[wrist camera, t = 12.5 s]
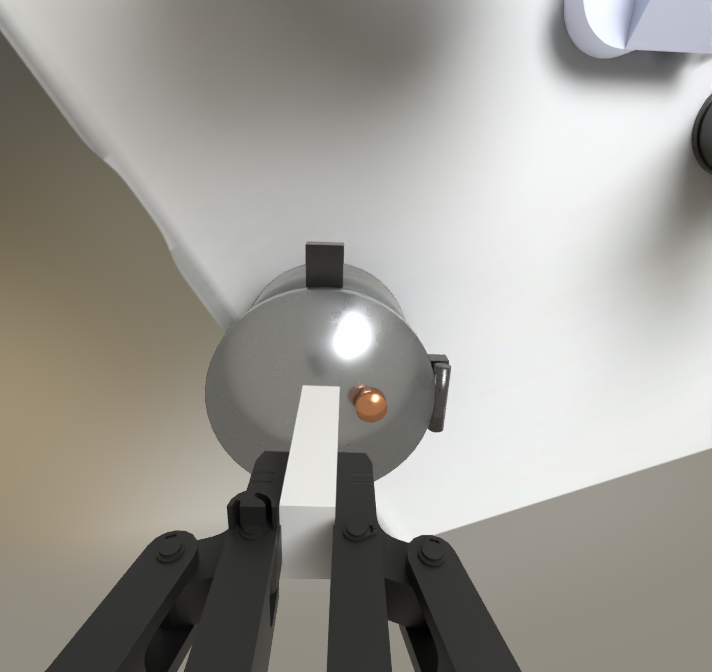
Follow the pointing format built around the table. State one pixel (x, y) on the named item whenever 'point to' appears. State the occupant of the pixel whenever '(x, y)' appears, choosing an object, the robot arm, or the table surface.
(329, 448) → the robot arm
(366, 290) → the pot
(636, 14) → the wedge on round base
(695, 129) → the french press
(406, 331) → the lid
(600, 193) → the table surface
